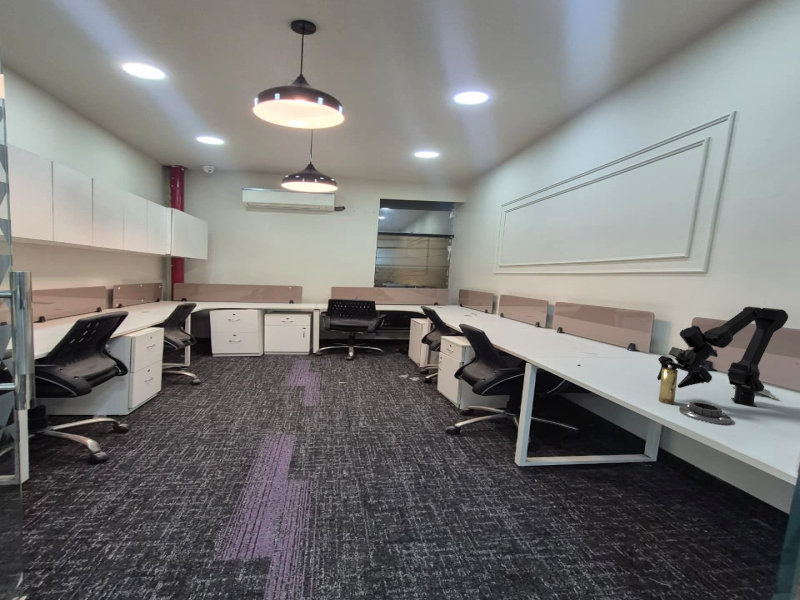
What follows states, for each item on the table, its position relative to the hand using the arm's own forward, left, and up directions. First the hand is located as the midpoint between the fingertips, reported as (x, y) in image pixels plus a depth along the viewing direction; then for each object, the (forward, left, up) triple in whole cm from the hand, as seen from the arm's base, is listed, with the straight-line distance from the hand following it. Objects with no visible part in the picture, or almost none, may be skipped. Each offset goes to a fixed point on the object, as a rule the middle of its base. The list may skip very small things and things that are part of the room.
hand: (667, 383), depth 136 cm
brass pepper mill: (0, 0, -8) cm, 8 cm away
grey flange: (+8, +11, -8) cm, 15 cm away
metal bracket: (-44, +33, -8) cm, 56 cm away
